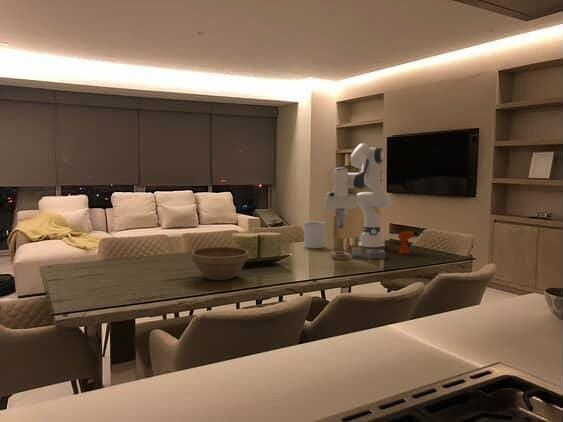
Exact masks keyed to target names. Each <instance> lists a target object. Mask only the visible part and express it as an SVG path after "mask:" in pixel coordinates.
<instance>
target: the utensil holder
mask: <svg viewBox="0 0 563 422" xmlns="http://www.w3.org/2000/svg"><path fill="white" fill-rule="evenodd" d="M303 243H304V244H303V246H304V248H306V249H323V248H324V247H325V245H324V244H325V221H323V222H322V221H304V222H303Z"/></svg>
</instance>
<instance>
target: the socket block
mask: <svg viewBox="0 0 563 422" xmlns="http://www.w3.org/2000/svg"><path fill="white" fill-rule="evenodd" d="M365 251H366V252H365V254H366V255H365V256H366V257H367V258H368V259H369V260H386V258H387V252H386V251H384V250H383V249H366V250H365Z"/></svg>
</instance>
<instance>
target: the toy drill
mask: <svg viewBox="0 0 563 422" xmlns="http://www.w3.org/2000/svg"><path fill="white" fill-rule="evenodd" d="M424 233H425V232H424V231H420V232H417V231H411V230H410V231H401V232H400V233H399V234H398V239H399V240H400V243H401V244H400V246H401V247H400V249H399V250H398V254H400V255H405V254H406V255H407V254H408V255H409V254H410V255H411V250H409V248H408V247H409V245H410V242H409V240H410V239H412V238H414V237H416V236H418V235H421V234H424Z"/></svg>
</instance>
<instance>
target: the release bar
mask: <svg viewBox="0 0 563 422" xmlns="http://www.w3.org/2000/svg"><path fill="white" fill-rule="evenodd" d="M351 251H352V252H351V255H352V256H355V257H361V254H362V248H361V247H352V248H351Z"/></svg>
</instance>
